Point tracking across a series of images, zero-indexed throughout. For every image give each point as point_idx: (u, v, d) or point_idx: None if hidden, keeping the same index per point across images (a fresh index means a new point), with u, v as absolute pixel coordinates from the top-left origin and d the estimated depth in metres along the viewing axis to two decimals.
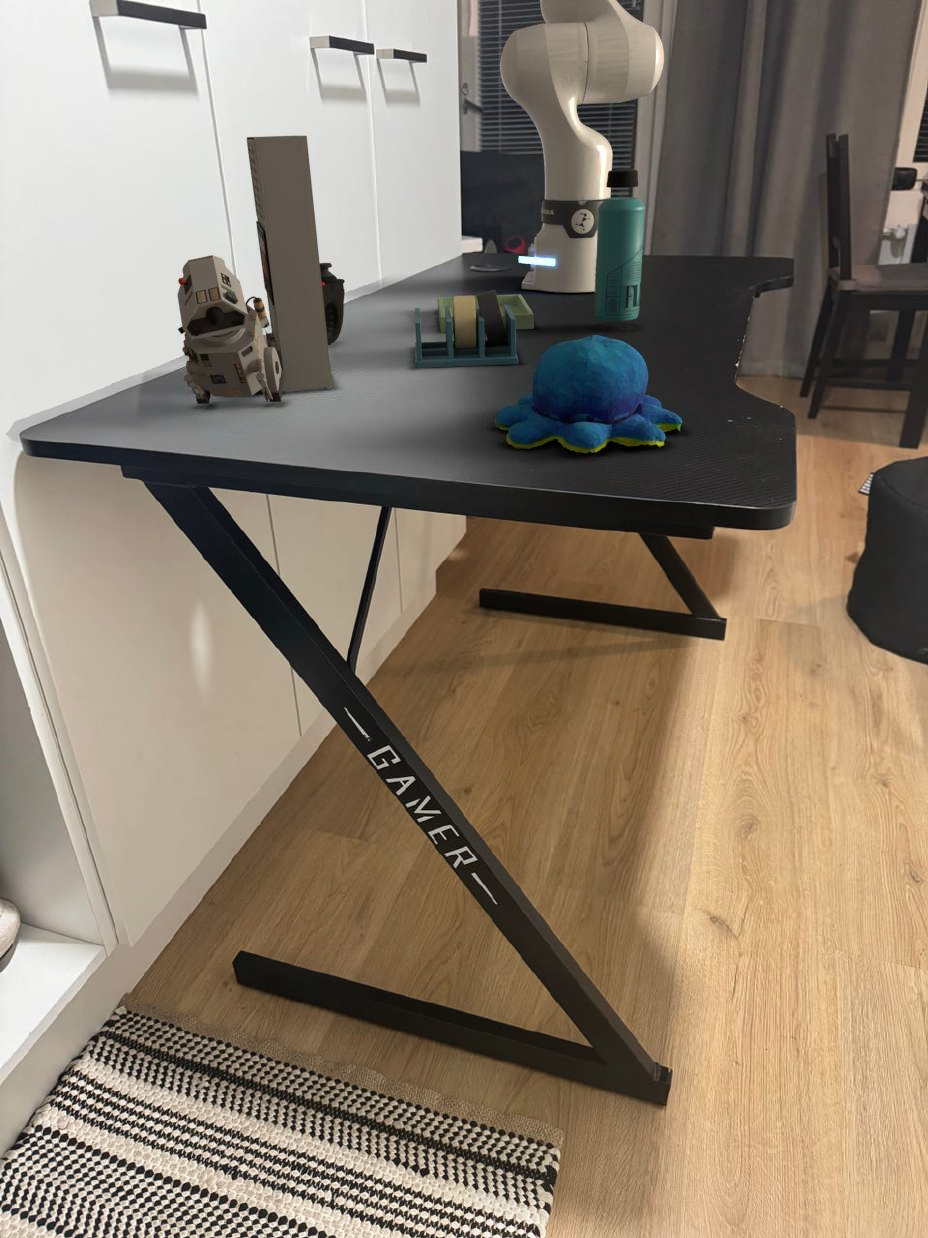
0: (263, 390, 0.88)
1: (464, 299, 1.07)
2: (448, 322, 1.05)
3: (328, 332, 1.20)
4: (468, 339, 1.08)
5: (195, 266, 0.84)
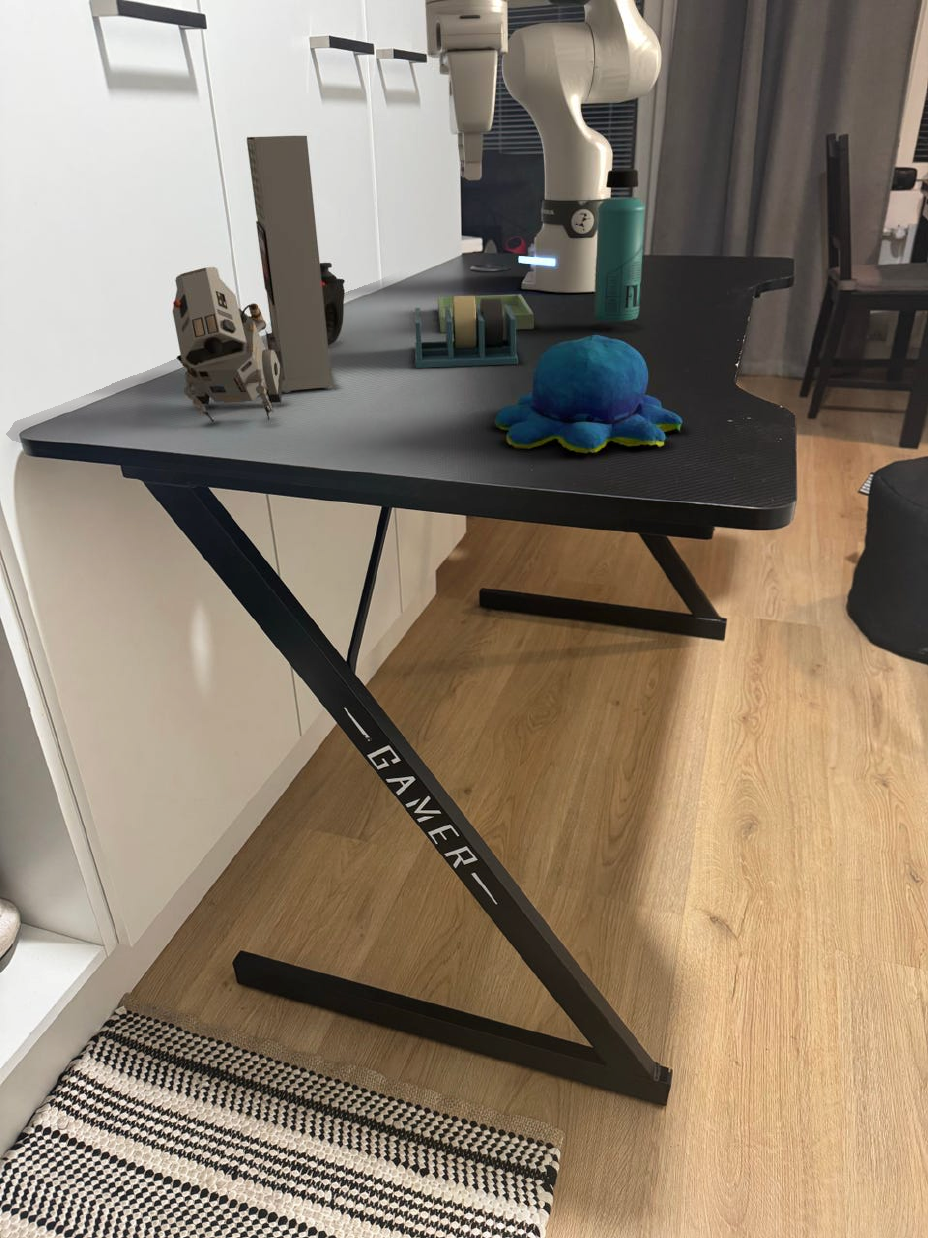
0: (264, 404, 0.88)
1: (464, 299, 1.07)
2: (448, 322, 1.05)
3: (328, 332, 1.20)
4: (468, 338, 1.08)
5: (188, 282, 0.82)
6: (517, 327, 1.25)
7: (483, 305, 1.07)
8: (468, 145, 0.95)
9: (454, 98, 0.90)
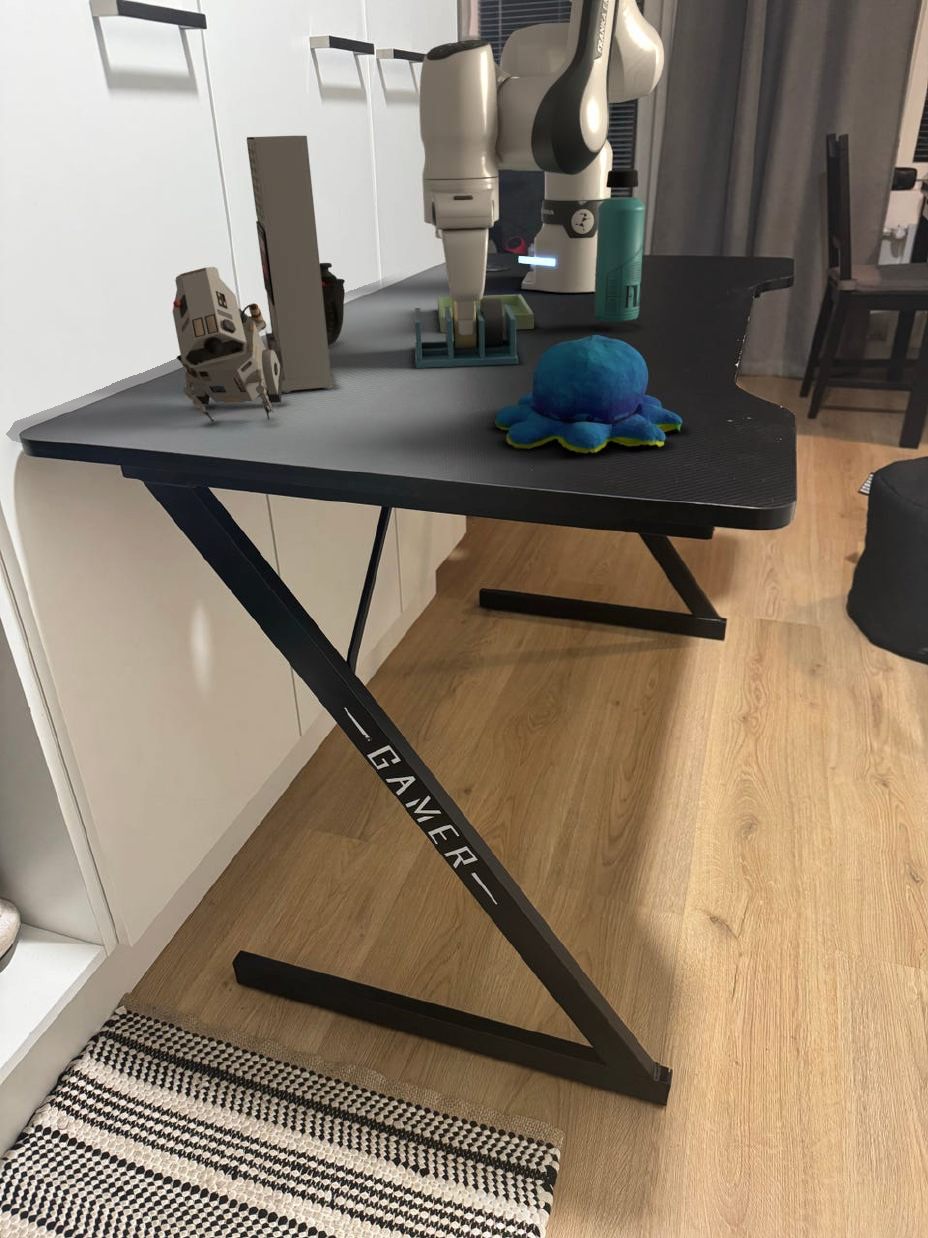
0: (264, 404, 0.88)
1: None
2: (448, 322, 1.05)
3: (328, 332, 1.20)
4: (468, 338, 1.08)
5: (188, 282, 0.82)
6: (517, 327, 1.25)
7: (483, 304, 1.07)
8: (461, 306, 1.03)
9: (448, 273, 0.98)
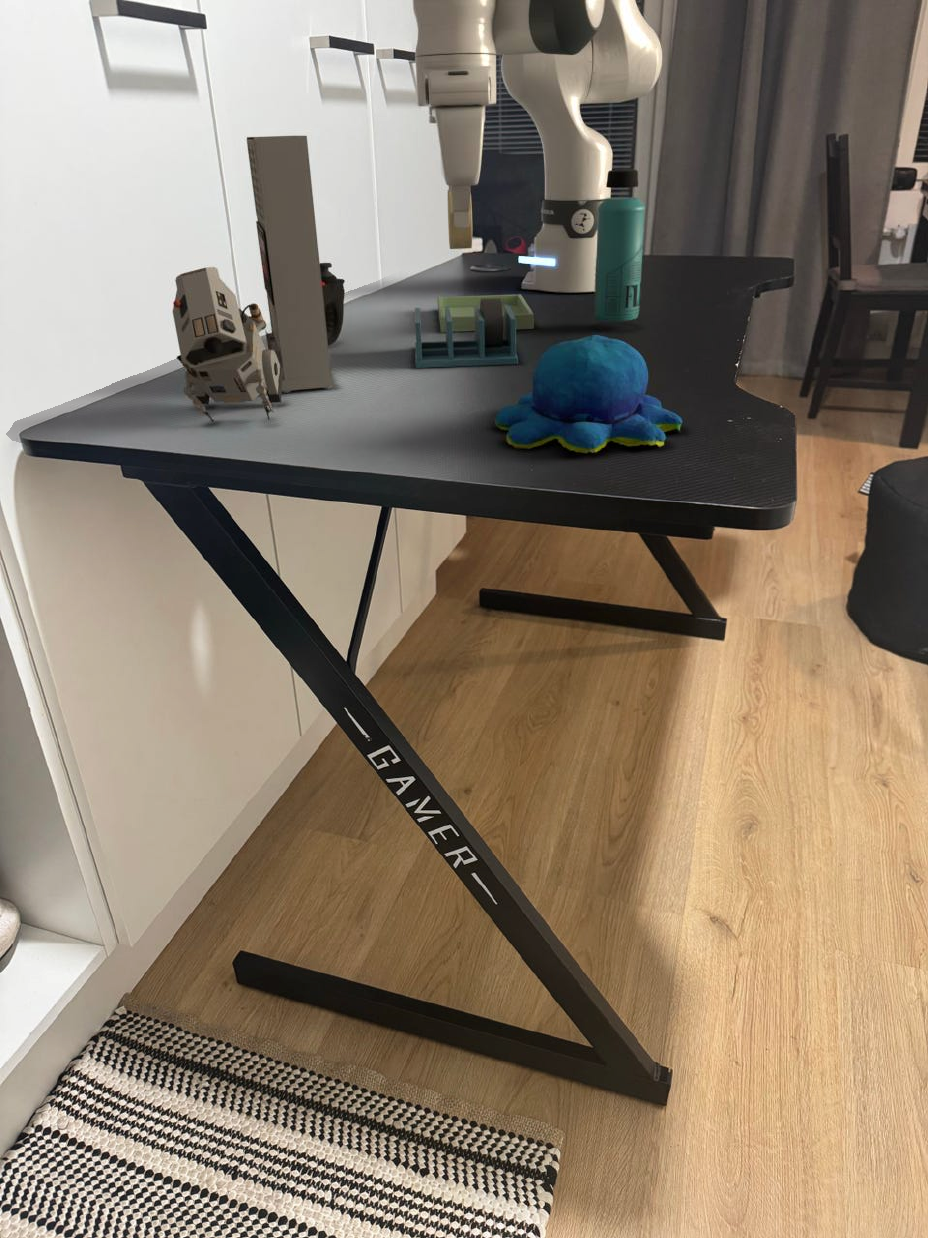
0: (264, 404, 0.88)
1: None
2: (448, 322, 1.05)
3: (328, 332, 1.20)
4: (464, 234, 1.02)
5: (188, 282, 0.82)
6: (517, 327, 1.25)
7: (483, 304, 1.07)
8: (456, 195, 0.98)
9: (442, 154, 0.92)
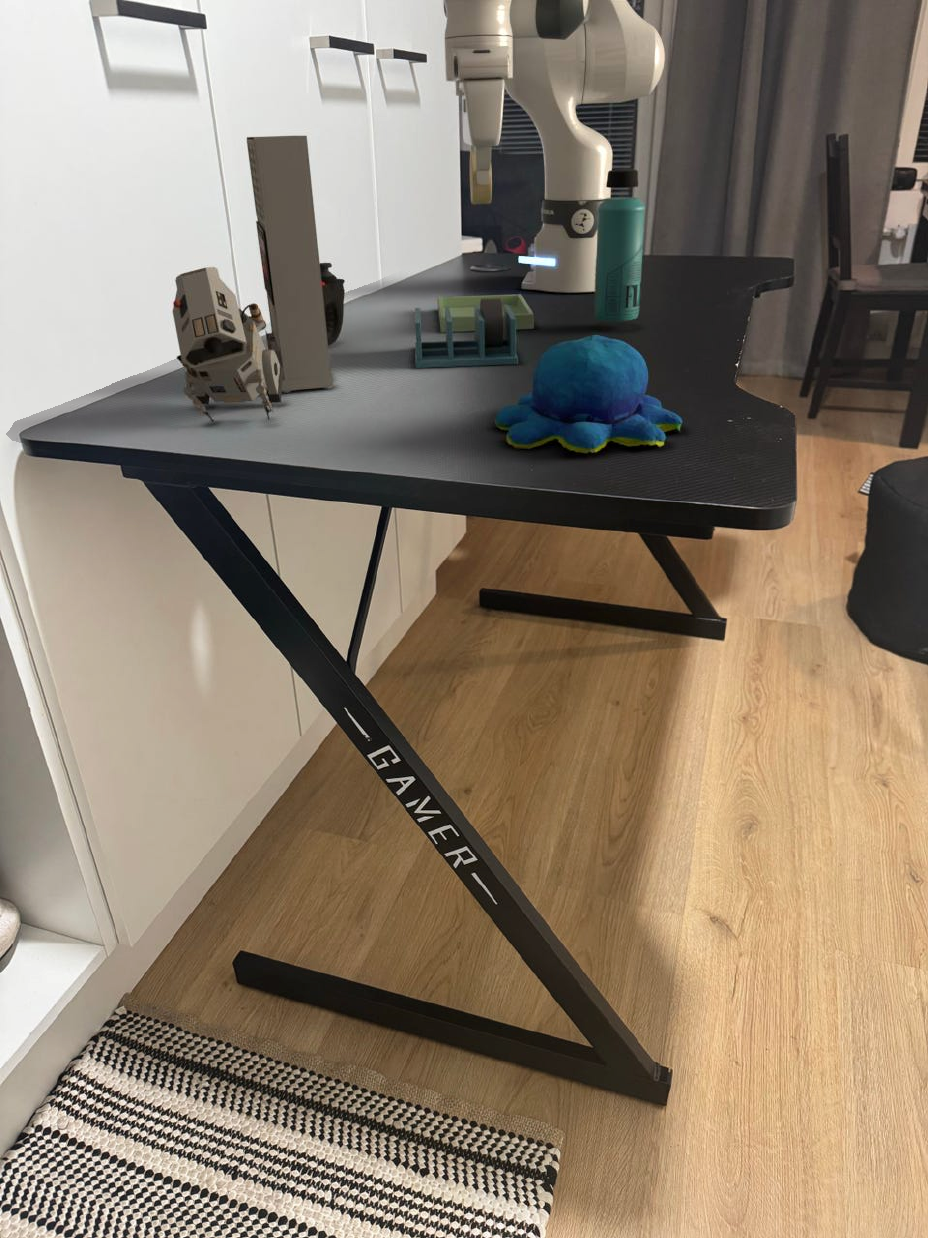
0: (264, 404, 0.88)
1: None
2: (448, 322, 1.05)
3: (328, 332, 1.20)
4: (484, 190, 1.20)
5: (188, 282, 0.82)
6: (517, 327, 1.25)
7: (483, 305, 1.07)
8: (479, 156, 1.16)
9: (469, 119, 1.10)
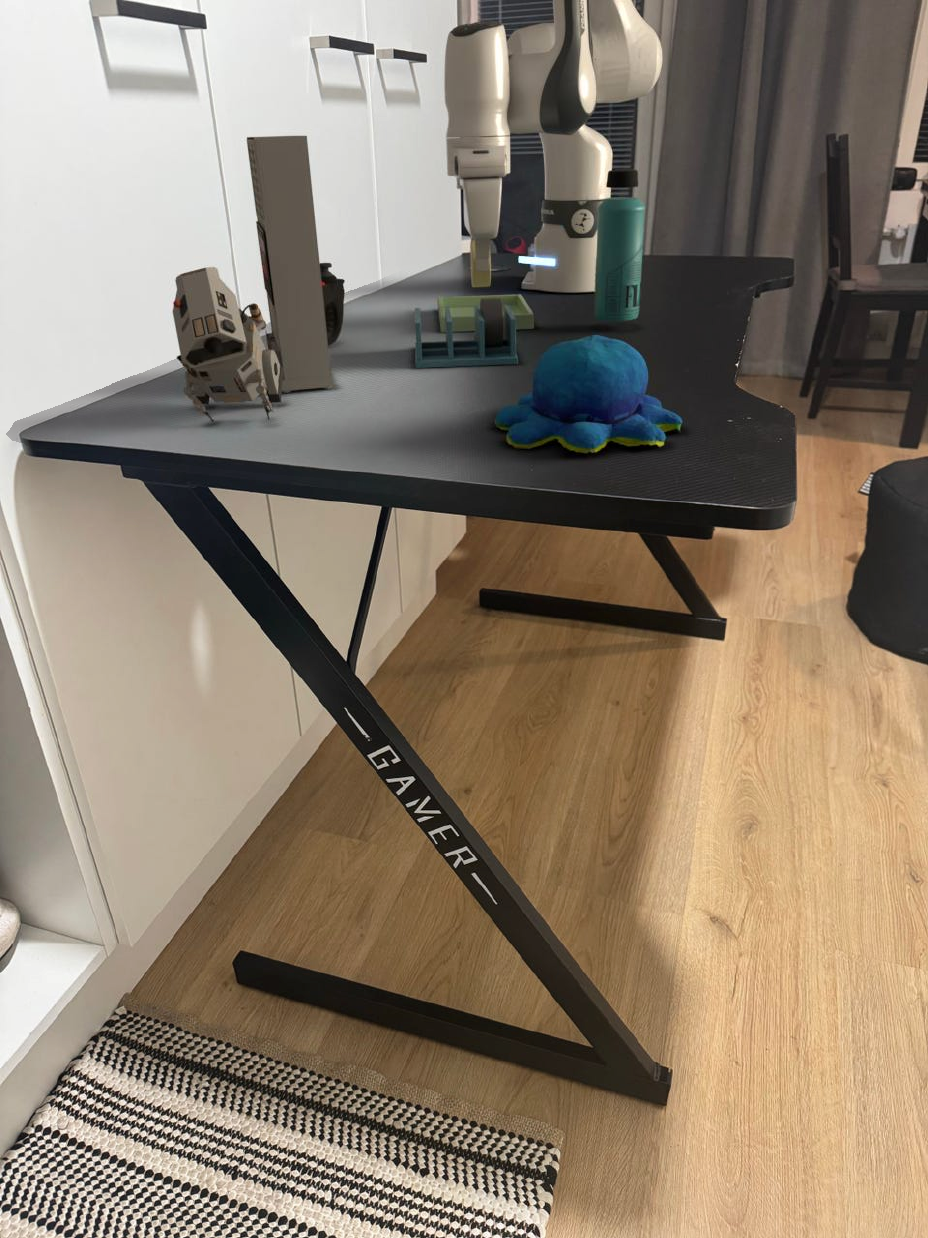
0: (264, 404, 0.88)
1: None
2: (448, 322, 1.05)
3: (328, 332, 1.20)
4: (484, 275, 1.27)
5: (188, 282, 0.82)
6: (517, 327, 1.25)
7: (483, 304, 1.07)
8: (478, 246, 1.23)
9: (468, 214, 1.17)
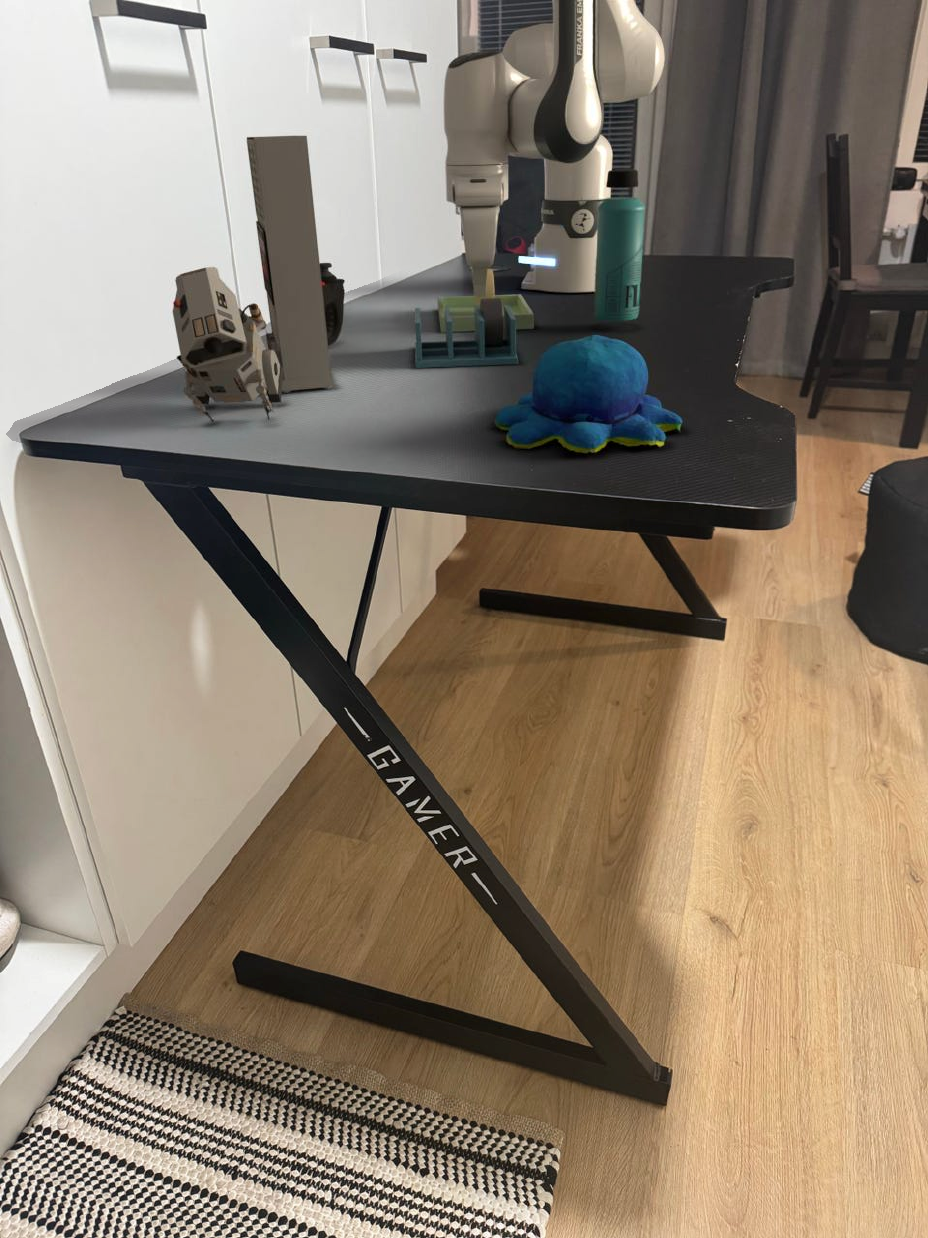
0: (264, 404, 0.88)
1: None
2: (448, 322, 1.05)
3: (328, 332, 1.20)
4: (487, 295, 1.29)
5: (188, 282, 0.82)
6: (517, 327, 1.25)
7: (483, 304, 1.07)
8: (476, 272, 1.24)
9: (465, 243, 1.19)
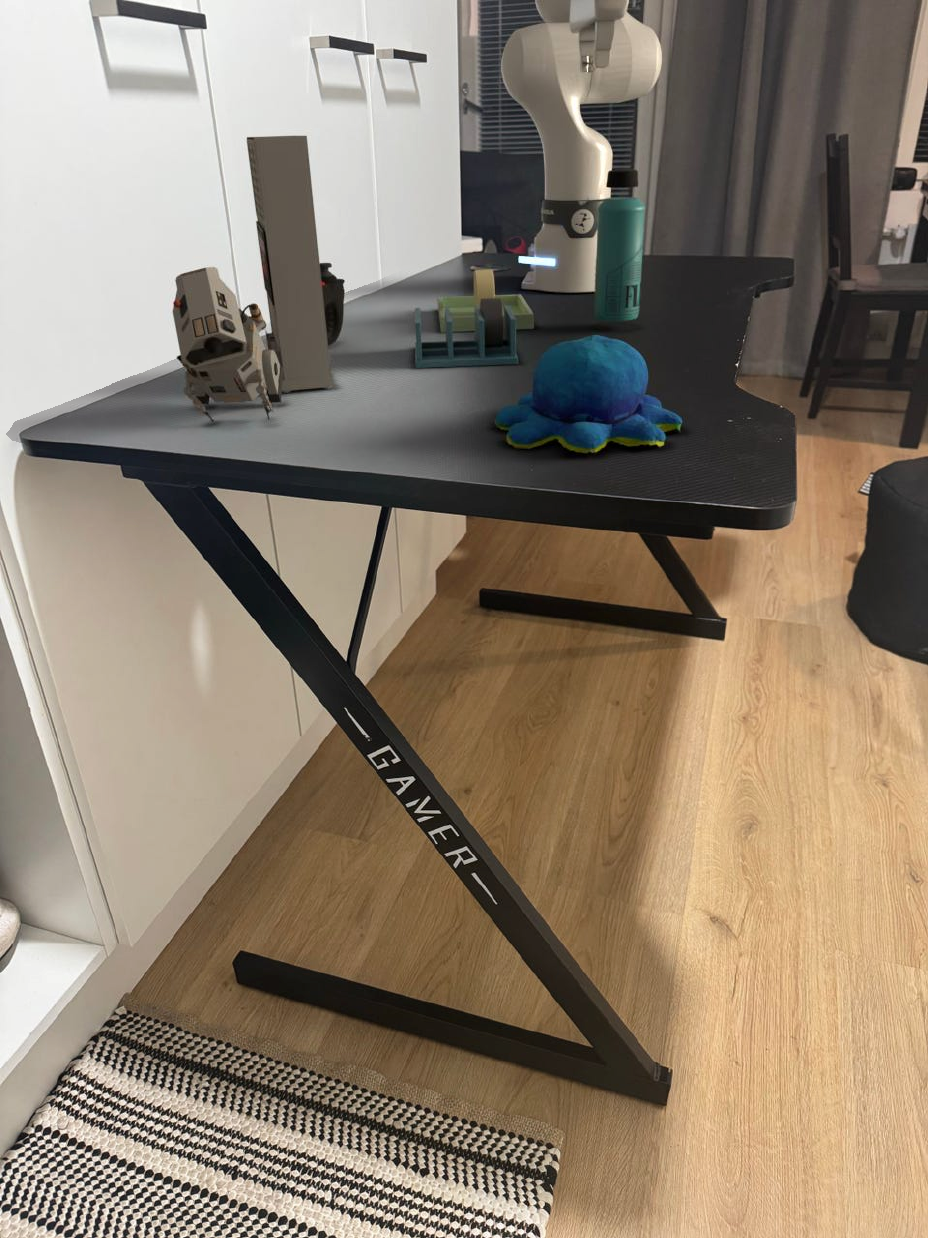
0: (264, 404, 0.88)
1: (484, 269, 1.30)
2: (448, 322, 1.05)
3: (328, 332, 1.20)
4: None
5: (188, 282, 0.82)
6: (517, 327, 1.25)
7: (483, 304, 1.07)
8: (600, 32, 1.04)
9: None
